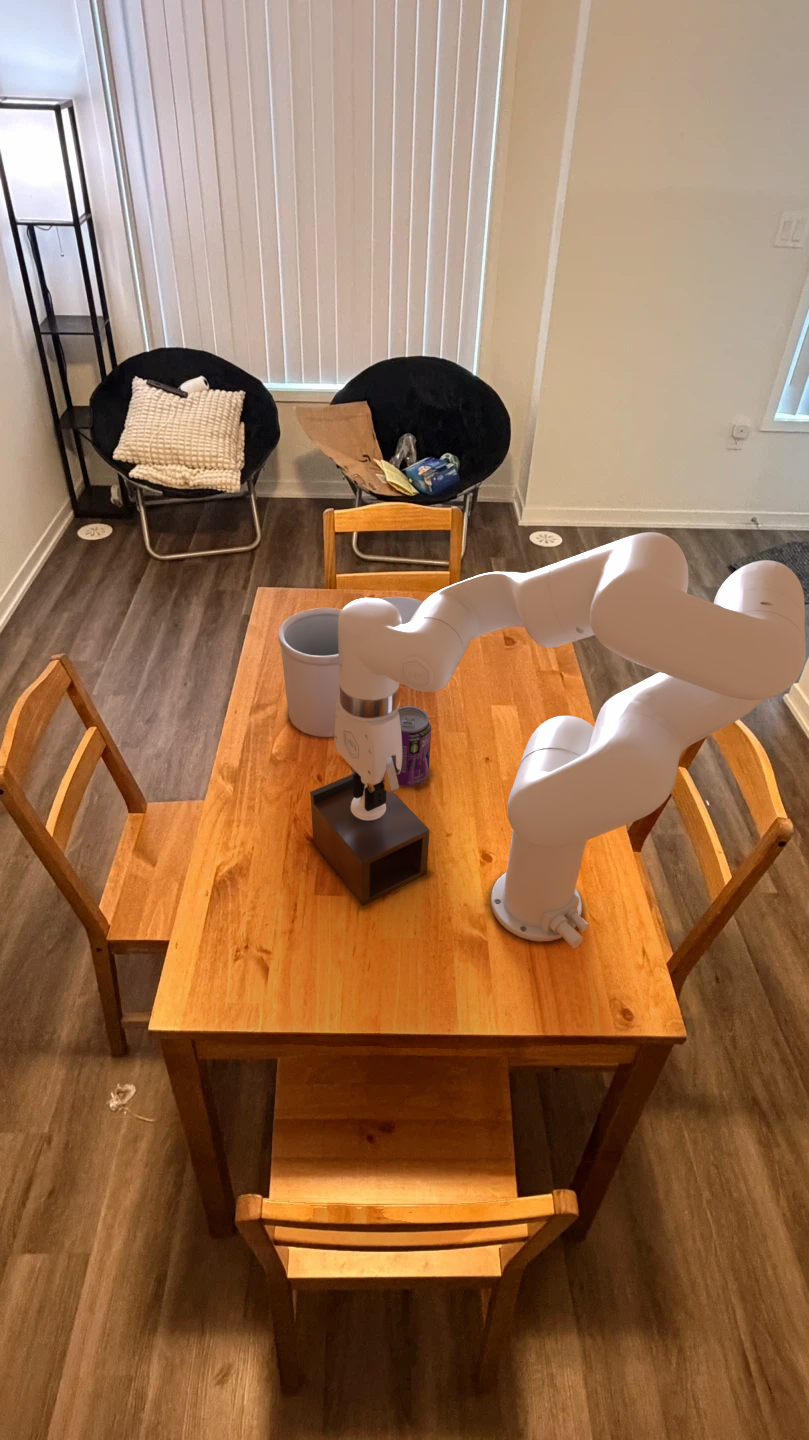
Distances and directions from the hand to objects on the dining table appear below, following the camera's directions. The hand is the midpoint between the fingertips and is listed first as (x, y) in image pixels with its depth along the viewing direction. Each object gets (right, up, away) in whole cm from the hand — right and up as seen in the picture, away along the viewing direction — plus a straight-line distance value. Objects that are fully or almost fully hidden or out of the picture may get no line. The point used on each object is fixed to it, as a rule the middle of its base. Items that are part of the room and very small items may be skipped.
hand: (369, 799), depth 118 cm
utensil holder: (-9, +12, +34) cm, 37 cm away
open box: (0, -9, +8) cm, 12 cm away
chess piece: (0, -1, +1) cm, 2 cm away
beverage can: (+5, +2, +22) cm, 23 cm away
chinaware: (+4, +25, +50) cm, 56 cm away
